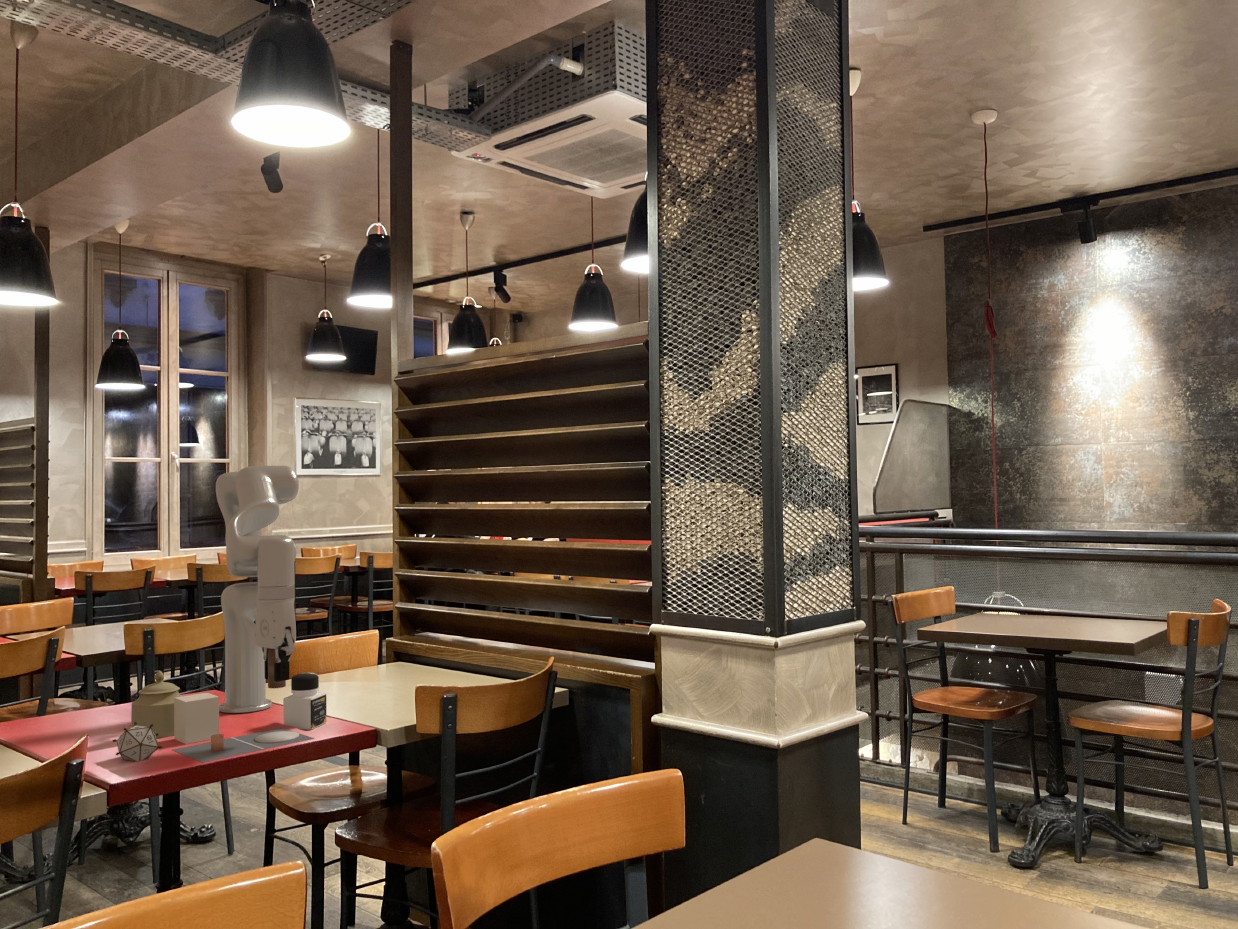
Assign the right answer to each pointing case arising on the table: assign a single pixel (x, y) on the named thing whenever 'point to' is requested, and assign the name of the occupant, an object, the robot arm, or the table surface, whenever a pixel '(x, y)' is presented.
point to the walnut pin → (271, 669)
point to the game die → (137, 743)
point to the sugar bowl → (156, 707)
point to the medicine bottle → (305, 703)
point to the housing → (196, 717)
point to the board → (241, 744)
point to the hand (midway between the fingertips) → (277, 678)
